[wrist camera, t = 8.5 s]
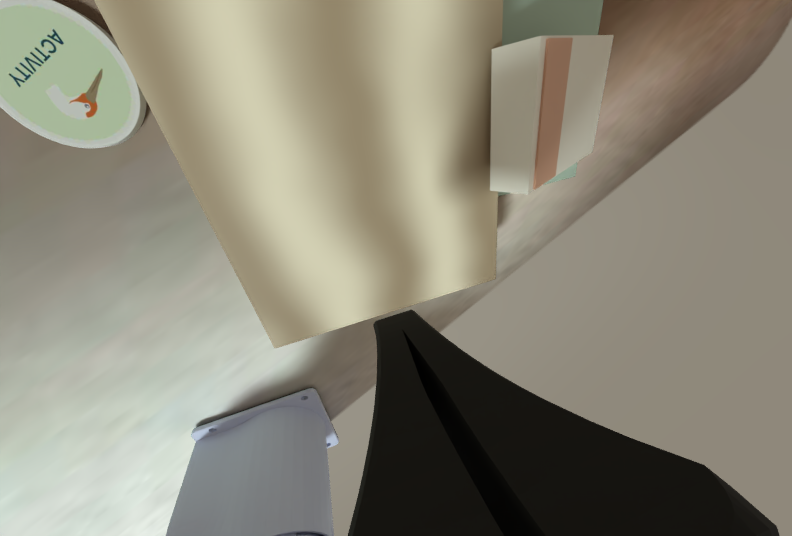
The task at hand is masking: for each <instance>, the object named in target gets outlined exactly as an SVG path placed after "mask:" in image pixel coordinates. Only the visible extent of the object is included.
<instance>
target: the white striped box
mask: <svg viewBox="0 0 792 536" xmlns="http://www.w3.org/2000/svg"><path fill="white" fill-rule="evenodd" d="M613 37H614V35H555V36H538V37H534V38H530V39H527V40H523V41H519V42H516V43H512V44H508V45H505V46H501V47H497V48H494V49H492V66H491V147H490V191H498V192H508V193H518V194H529V193H531V192H532V191H534V190H536V189H537V188H539V187H540V186H542V185H543V184H545V183H546V182H548V181H549V180H551V179H552V178H554V177H555V176H557V175H558V174H560V173H561V172H563V171H564V170H566V169H567V168H569V167H570V166H572V165H573V164H575V163H577V162H578V161H580V160H581V159H583V158H584V157H586V156H587V155H589V154H590V153H592V152H593V146H594V141H595V136H596V130H597V125H598V119H599V114H600V108H601V103H602V97H603V92H604V86H605V81H606V75H607V70H608V65H609V59H610V54H611V48H612V43H613Z"/></svg>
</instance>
